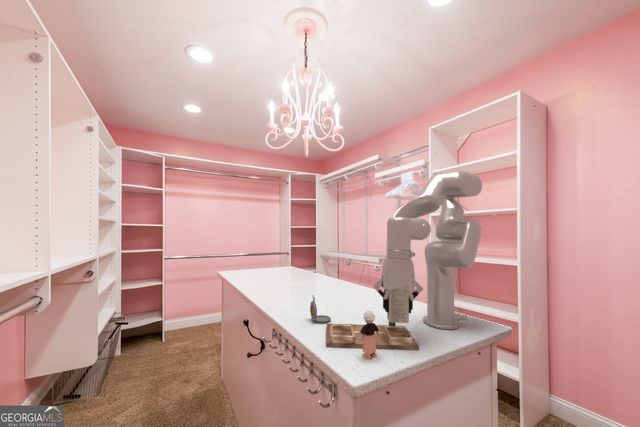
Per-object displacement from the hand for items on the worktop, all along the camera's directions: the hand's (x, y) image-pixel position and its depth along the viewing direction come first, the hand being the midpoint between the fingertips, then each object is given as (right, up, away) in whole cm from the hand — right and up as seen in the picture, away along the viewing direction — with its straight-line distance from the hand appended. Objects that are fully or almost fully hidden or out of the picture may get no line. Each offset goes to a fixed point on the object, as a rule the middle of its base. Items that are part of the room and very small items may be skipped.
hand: (397, 311), depth 85 cm
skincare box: (0, -3, 0) cm, 3 cm away
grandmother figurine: (-11, -10, -10) cm, 17 cm away
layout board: (-9, -10, +3) cm, 14 cm away
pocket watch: (-25, -11, +18) cm, 33 cm away
